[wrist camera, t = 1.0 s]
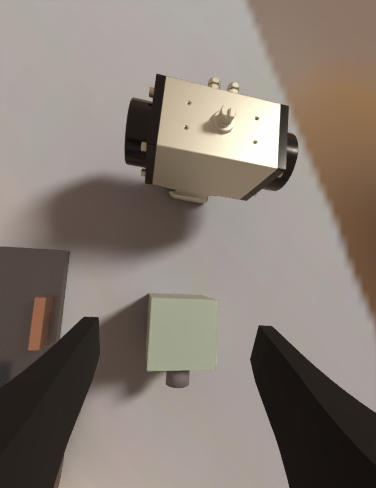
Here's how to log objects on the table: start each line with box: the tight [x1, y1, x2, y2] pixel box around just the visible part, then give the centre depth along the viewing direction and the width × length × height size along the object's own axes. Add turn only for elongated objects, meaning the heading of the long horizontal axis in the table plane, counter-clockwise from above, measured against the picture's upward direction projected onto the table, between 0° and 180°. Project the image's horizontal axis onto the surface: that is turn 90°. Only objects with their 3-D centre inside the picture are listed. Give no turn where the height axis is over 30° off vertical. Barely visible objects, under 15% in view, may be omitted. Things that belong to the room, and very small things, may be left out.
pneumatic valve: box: [125, 74, 298, 204], centre depth 20 cm, size 6×12×12 cm, turn 84°
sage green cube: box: [146, 293, 218, 388], centre depth 21 cm, size 7×5×6 cm
